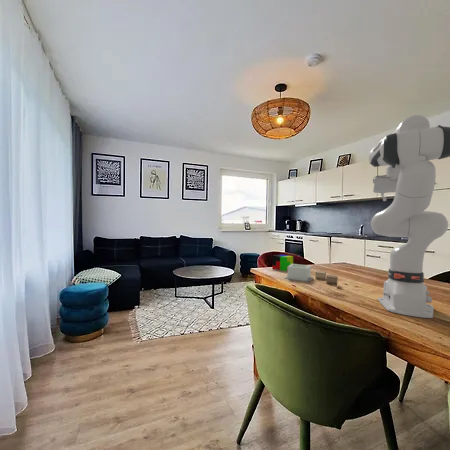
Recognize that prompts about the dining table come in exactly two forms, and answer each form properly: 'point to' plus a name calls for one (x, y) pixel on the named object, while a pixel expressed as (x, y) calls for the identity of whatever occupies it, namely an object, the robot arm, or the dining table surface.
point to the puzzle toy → (281, 262)
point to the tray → (302, 280)
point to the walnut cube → (331, 279)
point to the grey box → (299, 272)
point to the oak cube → (320, 275)
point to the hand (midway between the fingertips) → (395, 200)
